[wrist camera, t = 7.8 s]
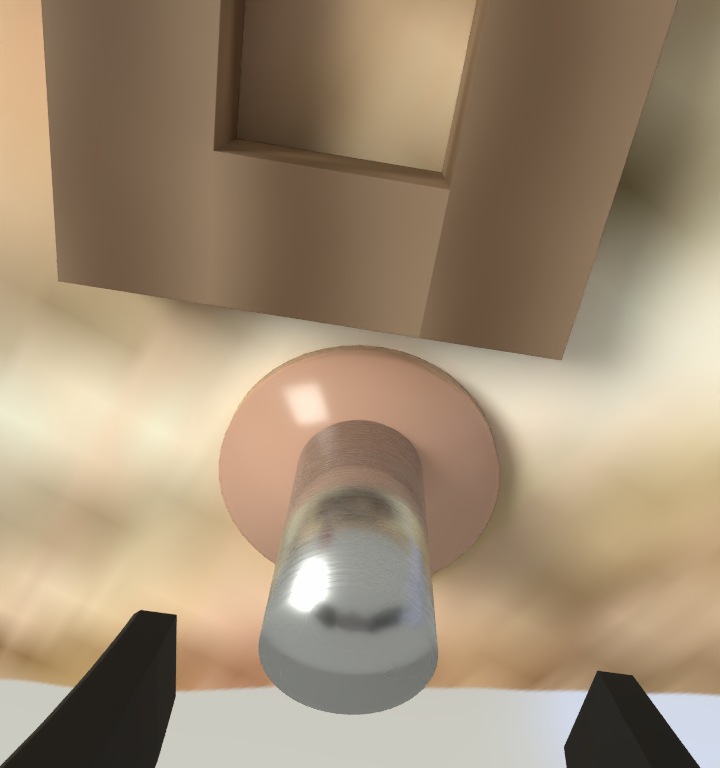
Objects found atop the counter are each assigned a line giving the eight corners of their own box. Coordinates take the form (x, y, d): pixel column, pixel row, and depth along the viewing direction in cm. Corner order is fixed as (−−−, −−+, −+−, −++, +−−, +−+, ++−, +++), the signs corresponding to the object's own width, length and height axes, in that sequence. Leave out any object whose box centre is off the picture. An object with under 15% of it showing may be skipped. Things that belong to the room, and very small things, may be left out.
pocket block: (717, -264, 13) (783, -329, 11) (541, 324, 19) (561, 360, 17) (77, -386, 13) (12, -479, 11) (97, 254, 19) (58, 281, 16)
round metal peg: (432, 428, 20) (453, 600, 14) (411, 530, 22) (421, 723, 15) (302, 411, 20) (263, 576, 14) (292, 516, 22) (254, 703, 15)
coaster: (527, 370, 20) (533, 381, 19) (461, 589, 24) (464, 605, 23) (232, 324, 19) (227, 334, 19) (217, 553, 24) (212, 569, 23)
